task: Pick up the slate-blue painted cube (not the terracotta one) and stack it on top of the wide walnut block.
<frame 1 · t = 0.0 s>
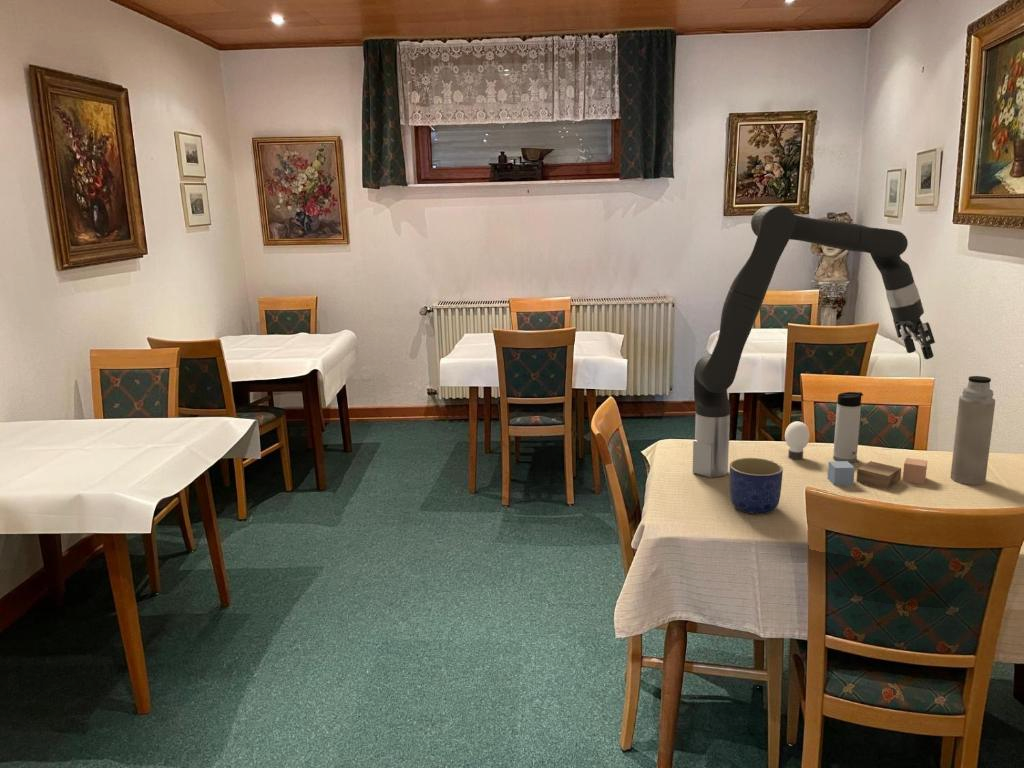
hand: (920, 355, 201), 31 cm above the table, tool tilted 20°, fingers open, 8 cm apart
planter: (754, 508, 183), on the table
blue cube: (840, 482, 197), on the table
walnut block: (878, 482, 197), on the table
travel mug: (845, 459, 214), on the table
terracotta cube: (914, 479, 197), on the table
light bulb: (795, 458, 217), on the table
thermos bottle: (967, 480, 196), on the table
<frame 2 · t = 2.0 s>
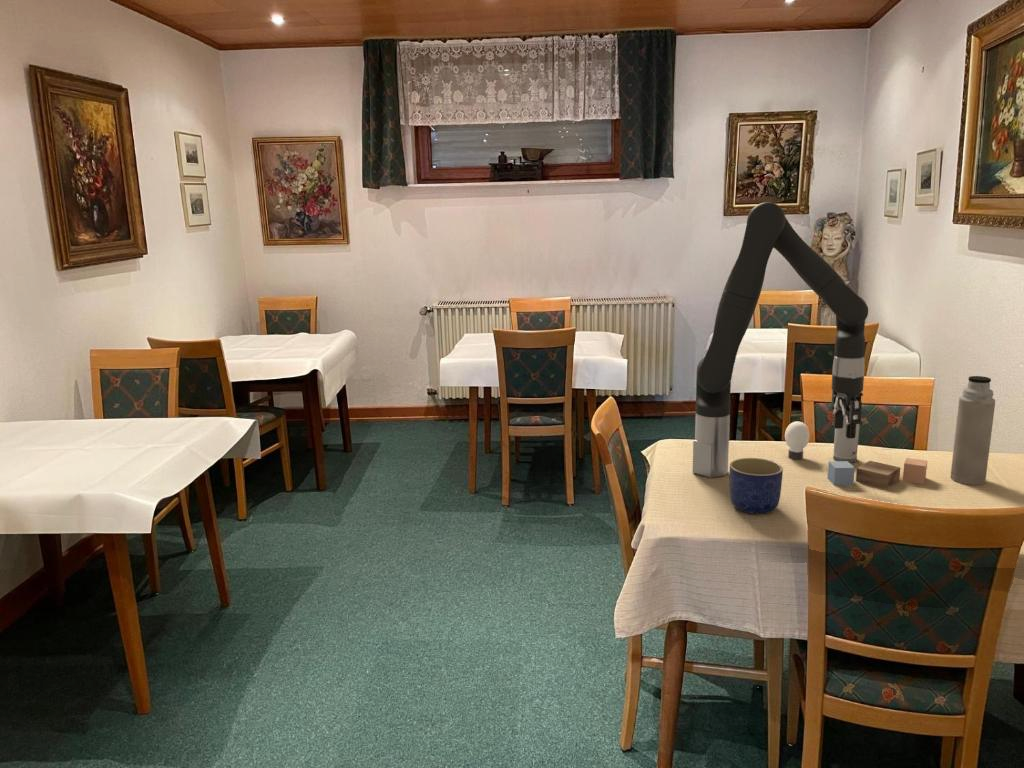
hand: (844, 432, 194), 14 cm above the table, tool pointing down, fingers open, 8 cm apart
nothing on the table moved.
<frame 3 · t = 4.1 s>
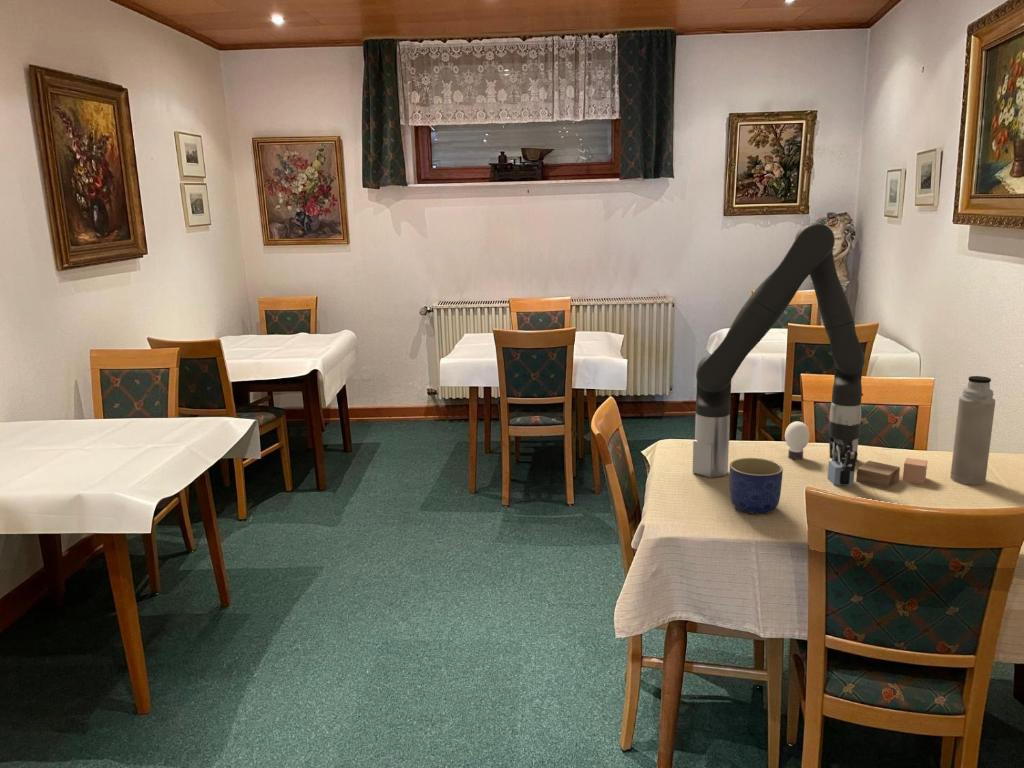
hand: (840, 480, 197), 0 cm above the table, tool pointing down, fingers closed on blue cube, 5 cm apart
blue cube: (840, 481, 197), on the table, touching gripper
everything else where it was.
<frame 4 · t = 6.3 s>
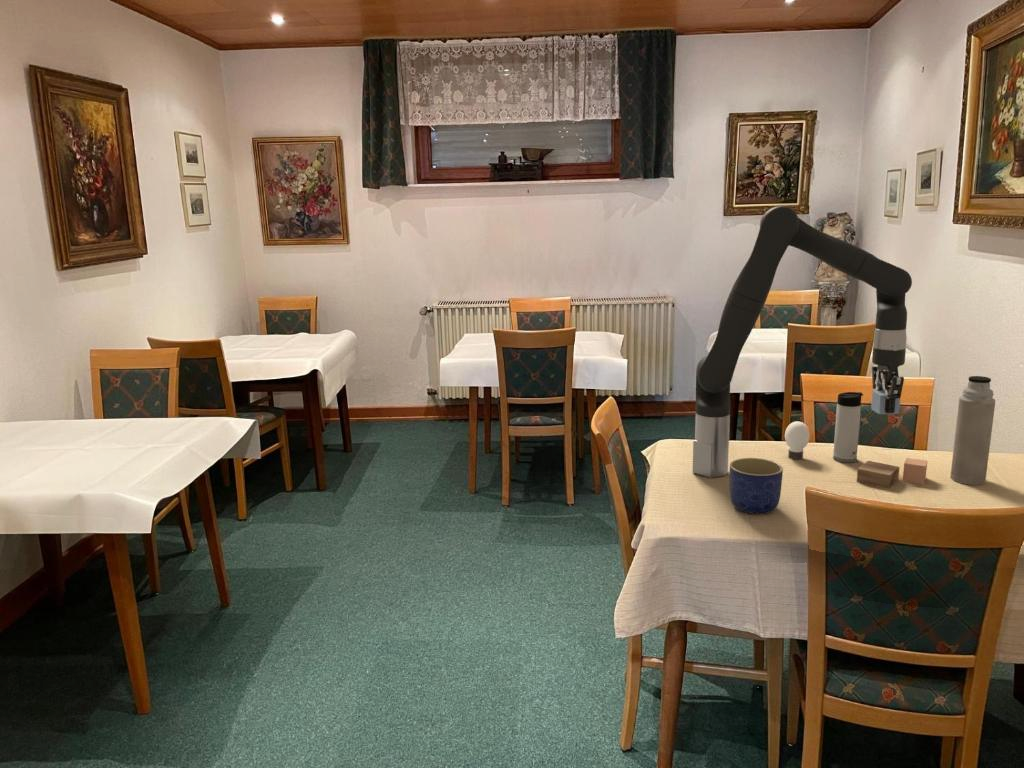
hand: (884, 409, 192), 20 cm above the table, tool pointing down, fingers closed on blue cube, 5 cm apart
blue cube: (884, 411, 192), point 19 cm above the table, touching gripper
everything else where it was.
when the fingers open (6 cm above the table, at t = 8.7 s): blue cube drops 2 cm, resting on walnut block.
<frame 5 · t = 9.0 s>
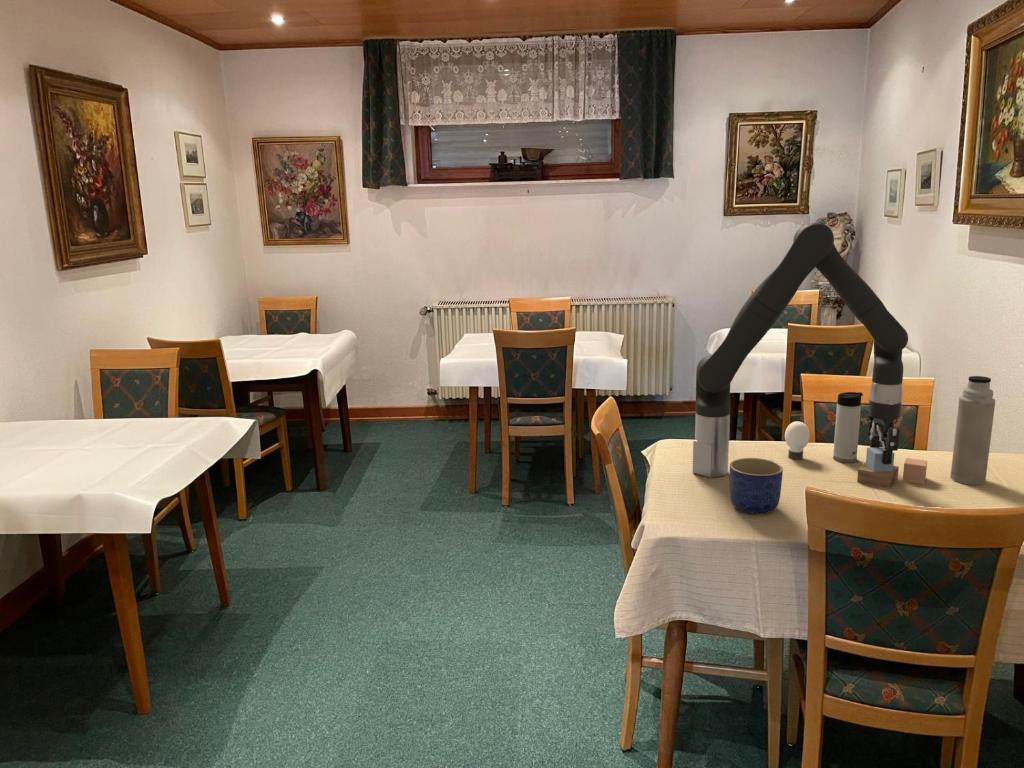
hand: (880, 458, 195), 6 cm above the table, tool pointing down, fingers open, 7 cm apart
blue cube: (879, 468, 196), point 4 cm above the table, touching walnut block
walnut block: (877, 481, 197), on the table, touching blue cube
everything else where it was.
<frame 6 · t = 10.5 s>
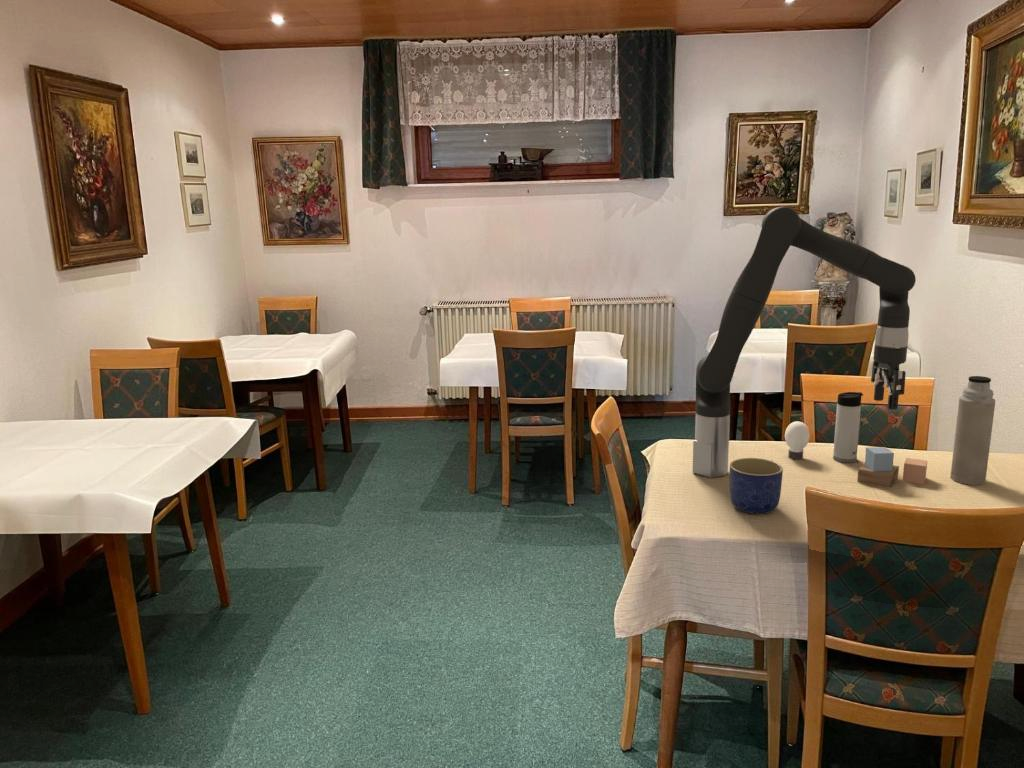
hand: (885, 404, 192), 21 cm above the table, tool pointing down, fingers open, 8 cm apart
blue cube: (878, 468, 196), point 4 cm above the table
walnut block: (877, 481, 198), on the table
everything else where it was.
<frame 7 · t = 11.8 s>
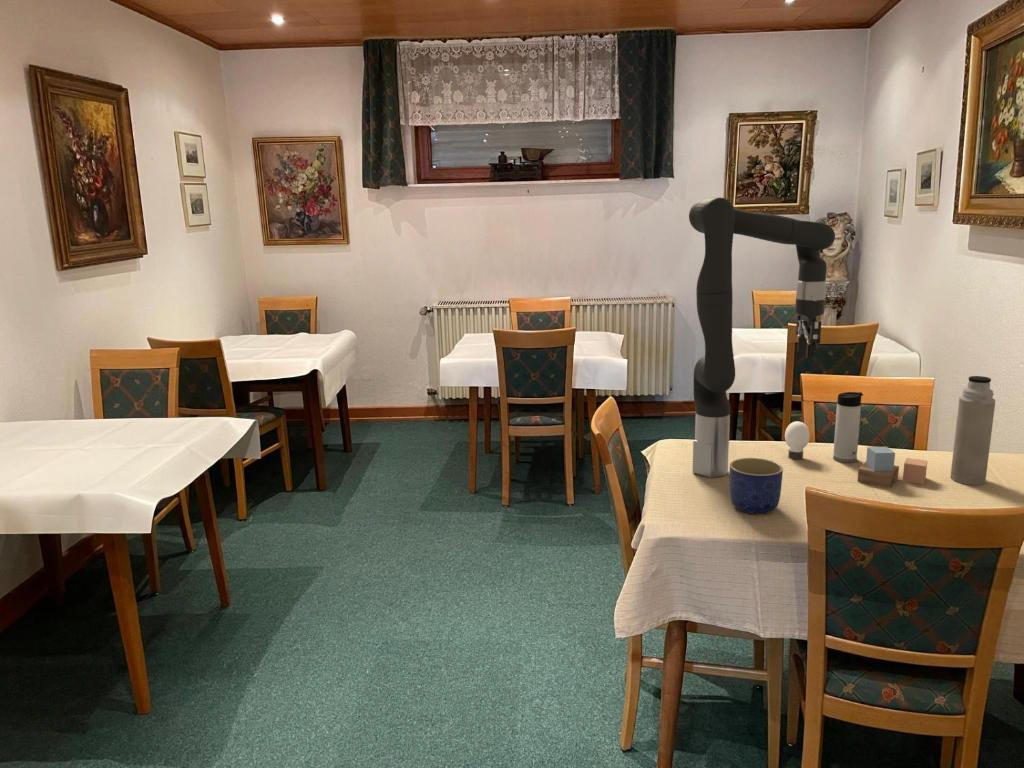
hand: (806, 354, 207), 31 cm above the table, tool pointing down, fingers open, 8 cm apart
blue cube: (879, 467, 197), point 4 cm above the table, touching walnut block
walnut block: (877, 481, 198), on the table, touching blue cube
everything else where it was.
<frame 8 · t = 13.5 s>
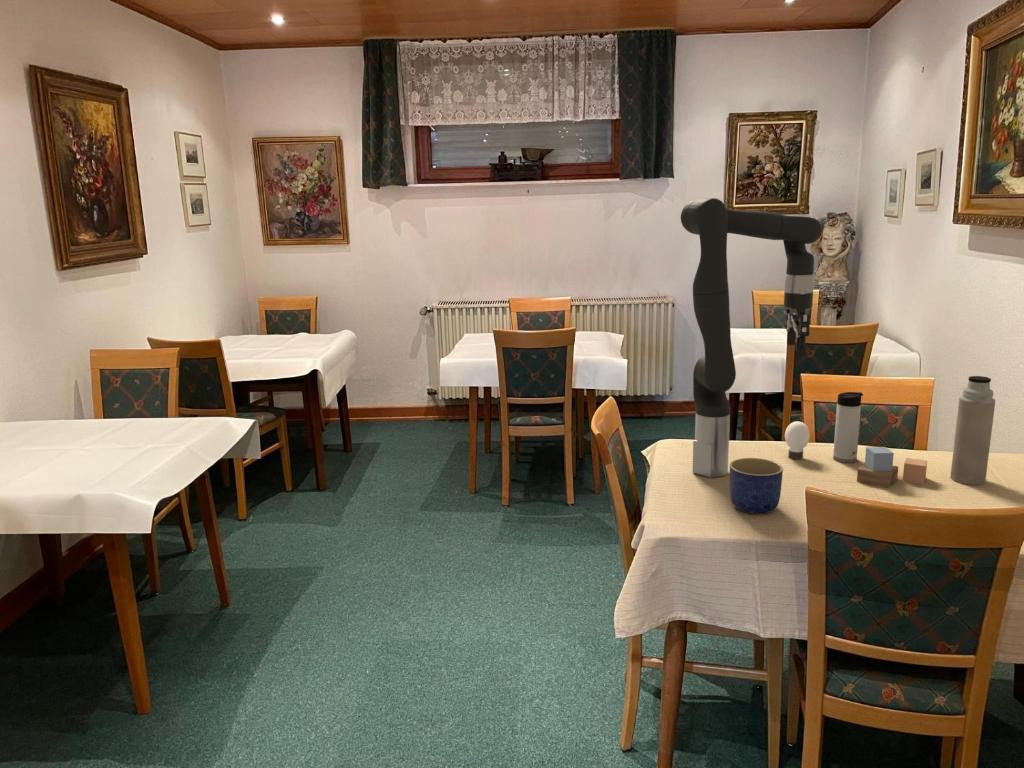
hand: (795, 347, 209), 33 cm above the table, tool pointing down, fingers open, 8 cm apart
nothing on the table moved.
at the end: blue cube 0.1 cm off-centre on the walnut block, point 4.0 cm above the walnut block's base; blue cube tilted 0°; the gripper is holding nothing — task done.
